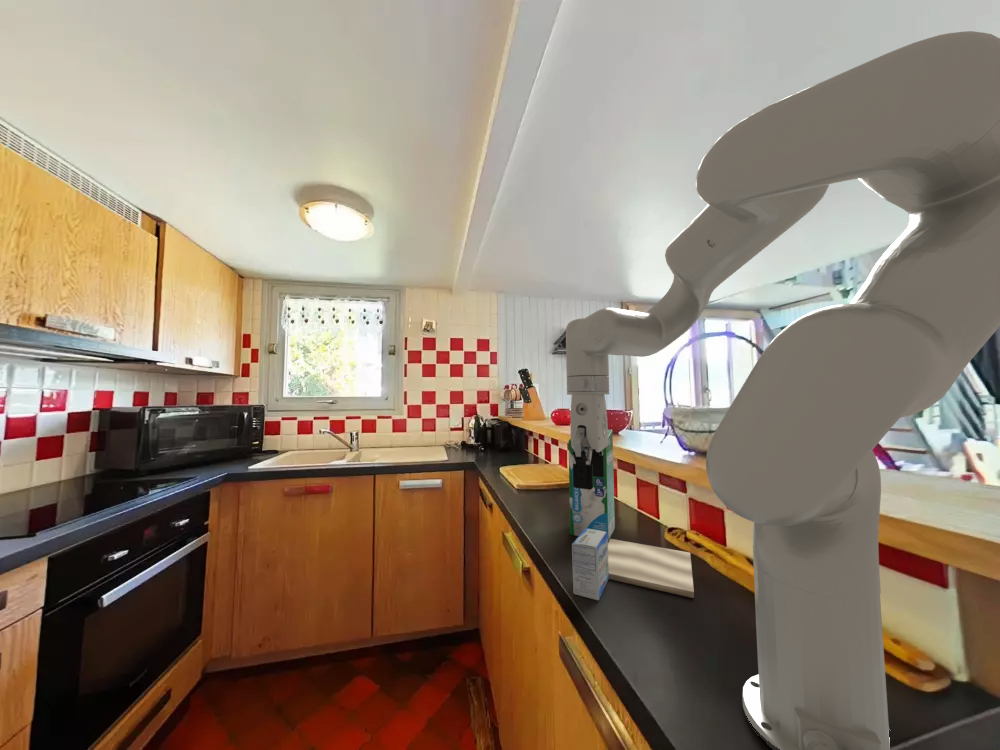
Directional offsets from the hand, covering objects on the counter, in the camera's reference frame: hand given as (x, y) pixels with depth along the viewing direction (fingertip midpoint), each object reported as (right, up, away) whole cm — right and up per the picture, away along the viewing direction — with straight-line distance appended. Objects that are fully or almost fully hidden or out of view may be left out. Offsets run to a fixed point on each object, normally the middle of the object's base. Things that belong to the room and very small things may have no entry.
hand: (589, 481), depth 62 cm
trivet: (+13, -19, +6) cm, 23 cm away
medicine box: (0, -18, -1) cm, 19 cm away
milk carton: (+7, -20, +23) cm, 31 cm away
